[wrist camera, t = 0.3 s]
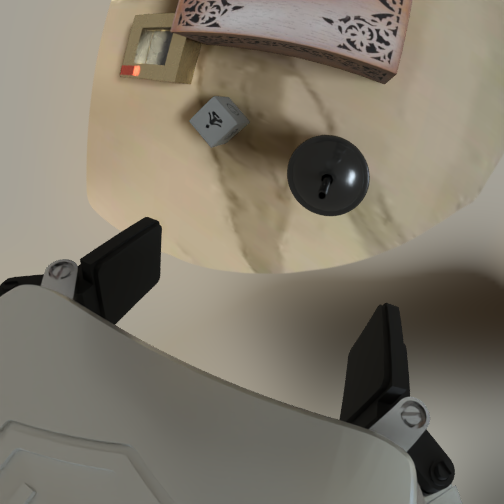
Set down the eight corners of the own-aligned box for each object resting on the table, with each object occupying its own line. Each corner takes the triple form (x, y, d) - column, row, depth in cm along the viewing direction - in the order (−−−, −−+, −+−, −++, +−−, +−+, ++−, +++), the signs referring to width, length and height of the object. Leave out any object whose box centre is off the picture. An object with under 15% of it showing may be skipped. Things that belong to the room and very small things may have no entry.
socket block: (152, 19, 33) (132, 14, 28) (208, 20, 31) (191, 12, 27) (137, 77, 38) (117, 76, 34) (190, 83, 37) (172, 82, 33)
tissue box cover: (207, 44, 33) (170, 32, 25) (228, -30, 26) (198, -56, 18) (384, 84, 29) (396, 74, 21) (403, 1, 22) (416, -28, 13)
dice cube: (250, 122, 37) (237, 123, 33) (225, 143, 40) (211, 147, 36) (228, 97, 37) (213, 96, 32) (205, 119, 39) (188, 121, 35)
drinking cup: (327, 117, 34) (308, 118, 17) (373, 153, 34) (397, 190, 17) (296, 160, 38) (249, 203, 21) (340, 194, 38) (330, 264, 21)
